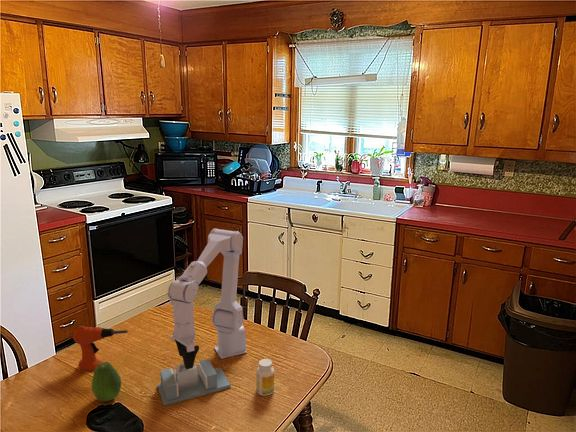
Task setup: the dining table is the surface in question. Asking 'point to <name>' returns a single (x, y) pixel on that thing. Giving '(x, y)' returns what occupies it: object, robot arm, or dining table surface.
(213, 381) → the block
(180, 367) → the steel block
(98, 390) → the avocado
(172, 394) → the base
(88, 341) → the toy drill
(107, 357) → the dining table surface
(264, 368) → the supplement bottle
